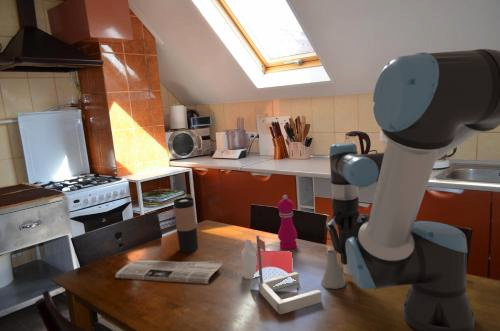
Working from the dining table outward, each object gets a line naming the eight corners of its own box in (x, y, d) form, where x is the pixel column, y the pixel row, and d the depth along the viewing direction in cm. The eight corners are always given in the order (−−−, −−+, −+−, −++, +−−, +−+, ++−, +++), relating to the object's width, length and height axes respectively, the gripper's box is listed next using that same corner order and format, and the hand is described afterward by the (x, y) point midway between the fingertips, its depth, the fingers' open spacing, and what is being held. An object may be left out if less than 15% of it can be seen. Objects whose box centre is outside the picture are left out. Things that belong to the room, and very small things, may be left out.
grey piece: (253, 243, 115) (236, 242, 117) (256, 280, 116) (239, 278, 118) (259, 236, 120) (243, 235, 122) (262, 271, 122) (246, 270, 124)
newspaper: (115, 279, 126) (114, 269, 126) (136, 263, 138) (135, 254, 138) (212, 285, 116) (211, 275, 116) (226, 268, 128) (225, 258, 127)
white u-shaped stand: (321, 302, 101) (318, 242, 98) (279, 314, 96) (275, 252, 94) (296, 281, 114) (293, 227, 111) (258, 291, 109) (254, 235, 107)
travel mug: (177, 248, 149) (171, 199, 146) (195, 243, 152) (190, 196, 149) (182, 254, 142) (176, 203, 139) (201, 249, 145) (196, 199, 142)
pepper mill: (276, 249, 139) (273, 197, 136) (280, 242, 146) (277, 192, 143) (296, 250, 137) (292, 197, 134) (299, 243, 144) (296, 192, 141)
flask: (344, 277, 113) (342, 246, 112) (348, 289, 106) (346, 256, 105) (320, 278, 114) (318, 247, 113) (322, 290, 107) (320, 257, 105)
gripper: (355, 190, 114) (358, 263, 118) (318, 197, 109) (322, 273, 113) (372, 195, 107) (374, 273, 111) (332, 203, 102) (336, 283, 106)
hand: (348, 273), depth 112 cm, fingers closed
